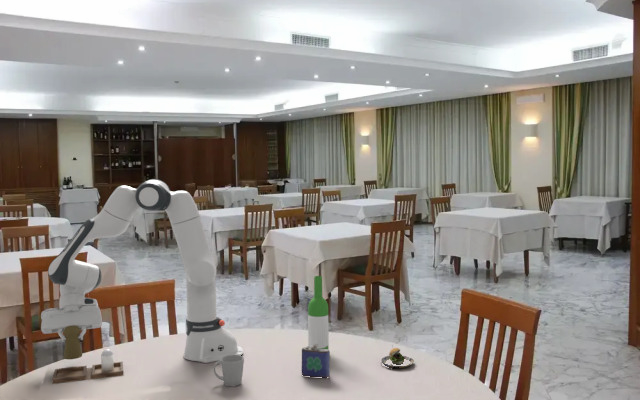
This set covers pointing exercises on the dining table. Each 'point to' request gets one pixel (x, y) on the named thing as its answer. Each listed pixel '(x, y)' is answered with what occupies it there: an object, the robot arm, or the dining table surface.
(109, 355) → the salt cellar
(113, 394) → the dining table surface
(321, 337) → the wine bottle
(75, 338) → the olive green stopper
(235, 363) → the cup
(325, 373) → the flask
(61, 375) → the cruet board
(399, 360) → the burger
